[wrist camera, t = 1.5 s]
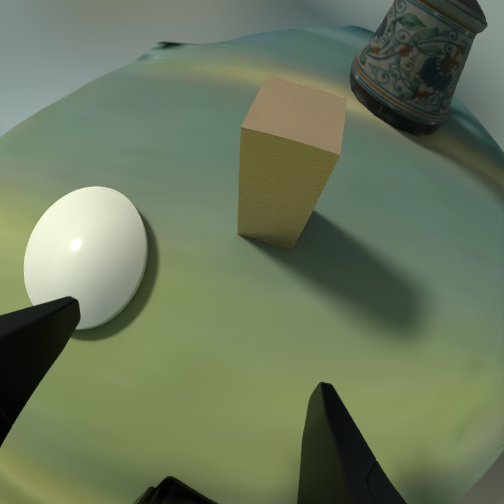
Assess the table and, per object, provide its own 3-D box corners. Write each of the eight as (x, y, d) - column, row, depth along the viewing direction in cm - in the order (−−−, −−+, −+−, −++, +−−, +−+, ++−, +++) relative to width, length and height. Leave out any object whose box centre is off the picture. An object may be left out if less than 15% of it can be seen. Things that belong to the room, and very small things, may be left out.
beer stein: (374, 134, 31) (454, -34, 8) (324, 55, 38) (356, -69, 14) (455, 142, 33) (534, 31, 10) (401, 67, 40) (444, -31, 16)
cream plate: (179, 243, 25) (177, 237, 23) (83, 362, 20) (76, 362, 19) (92, 172, 27) (88, 165, 26) (13, 266, 22) (7, 262, 21)
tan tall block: (292, 250, 25) (339, 155, 13) (237, 234, 25) (241, 127, 13) (303, 203, 27) (346, 98, 15) (253, 188, 27) (266, 76, 15)
